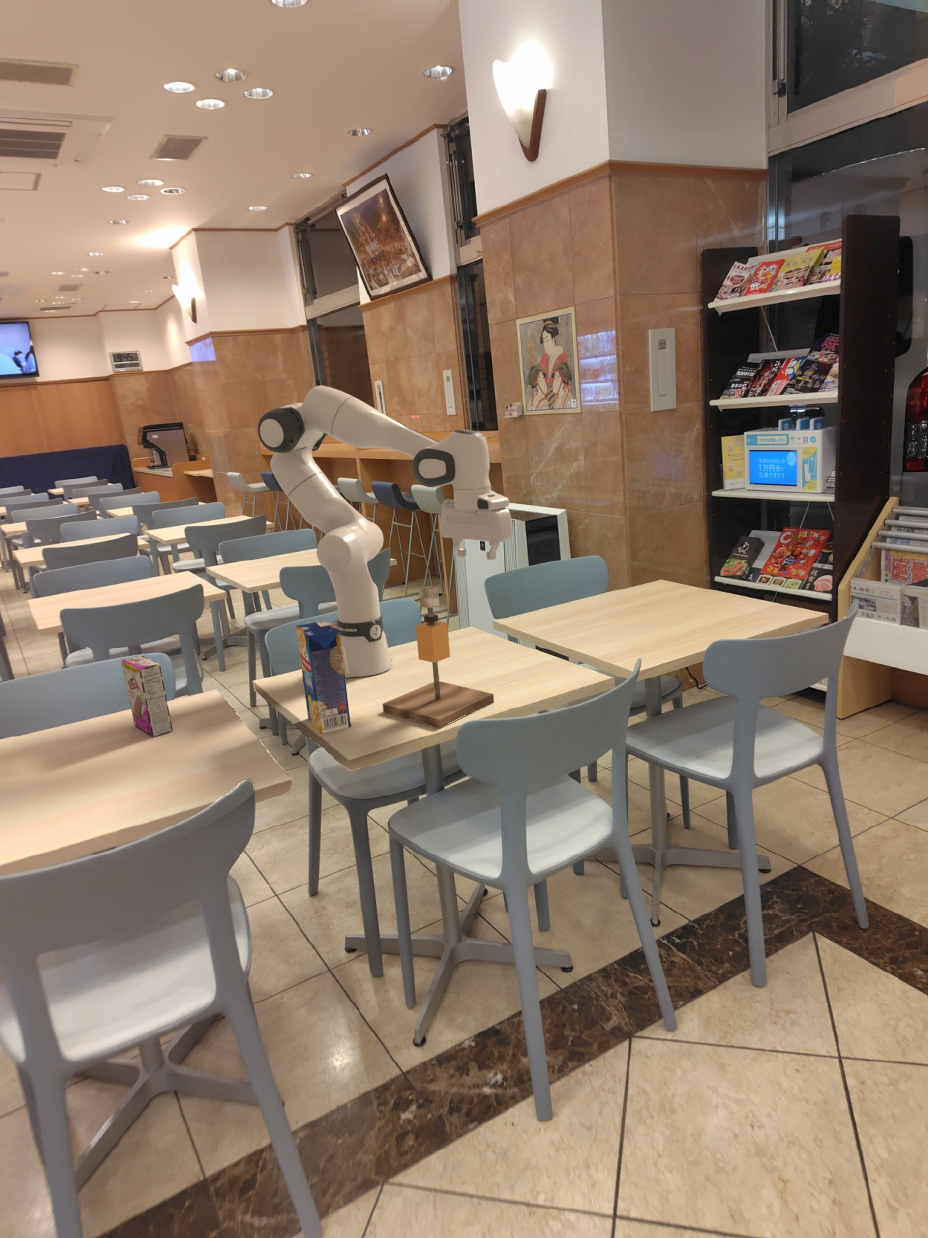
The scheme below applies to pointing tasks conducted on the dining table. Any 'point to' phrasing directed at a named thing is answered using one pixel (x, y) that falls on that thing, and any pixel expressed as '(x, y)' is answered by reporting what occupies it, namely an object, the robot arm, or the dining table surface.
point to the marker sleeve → (433, 641)
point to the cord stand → (436, 688)
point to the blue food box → (323, 676)
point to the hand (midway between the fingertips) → (476, 557)
